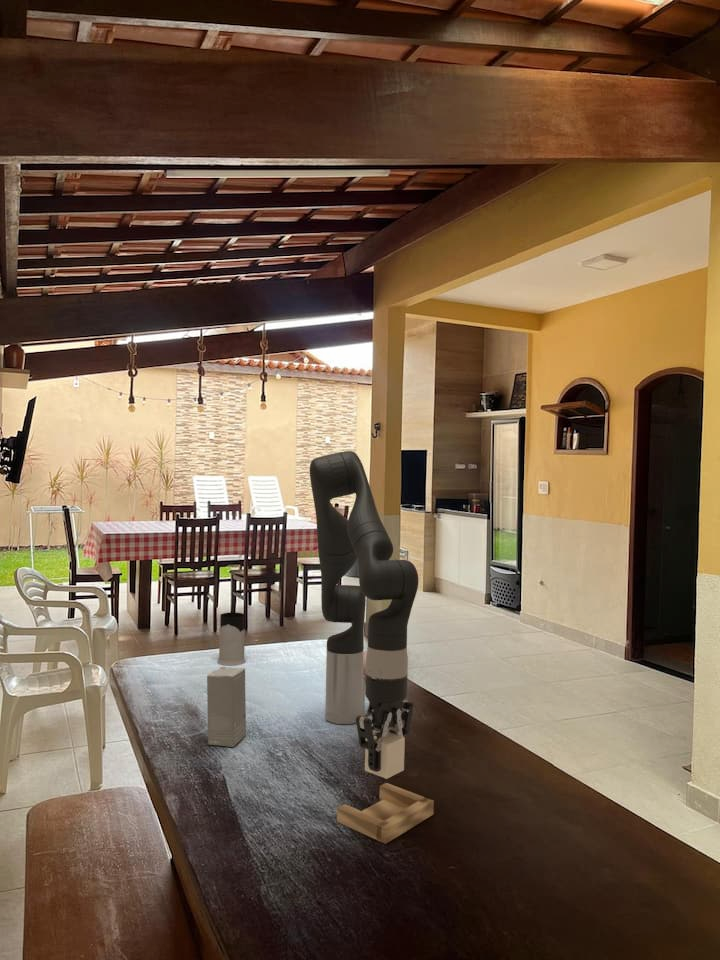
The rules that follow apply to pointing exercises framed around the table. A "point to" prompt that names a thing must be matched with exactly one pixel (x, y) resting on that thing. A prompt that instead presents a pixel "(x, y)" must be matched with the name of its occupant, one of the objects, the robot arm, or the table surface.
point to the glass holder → (231, 639)
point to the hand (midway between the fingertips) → (384, 765)
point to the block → (389, 755)
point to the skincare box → (226, 706)
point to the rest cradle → (387, 814)
